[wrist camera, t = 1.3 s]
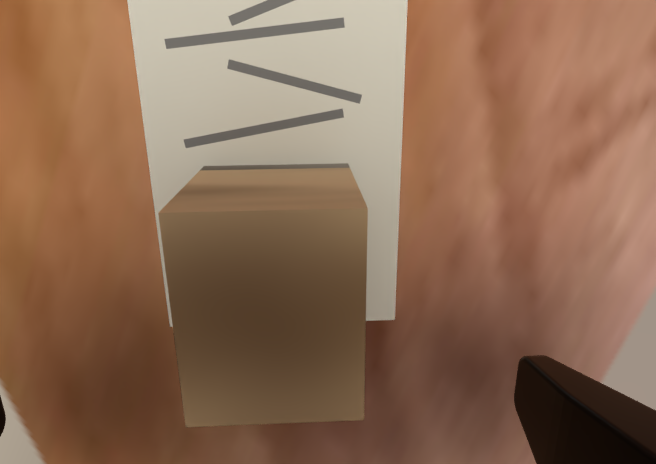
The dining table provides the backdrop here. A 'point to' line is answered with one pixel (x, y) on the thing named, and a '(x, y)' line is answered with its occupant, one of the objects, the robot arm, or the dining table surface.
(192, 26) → the board
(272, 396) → the block
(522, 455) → the dining table surface
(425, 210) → the dining table surface
